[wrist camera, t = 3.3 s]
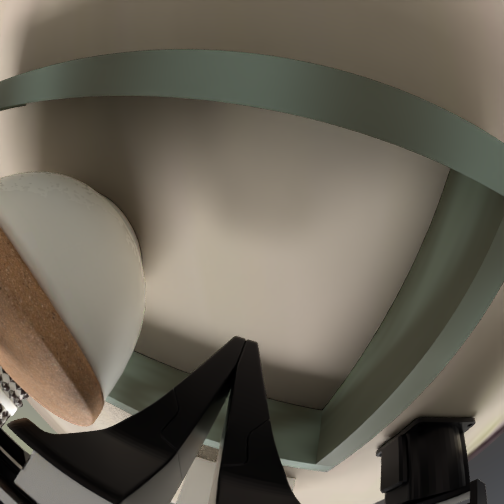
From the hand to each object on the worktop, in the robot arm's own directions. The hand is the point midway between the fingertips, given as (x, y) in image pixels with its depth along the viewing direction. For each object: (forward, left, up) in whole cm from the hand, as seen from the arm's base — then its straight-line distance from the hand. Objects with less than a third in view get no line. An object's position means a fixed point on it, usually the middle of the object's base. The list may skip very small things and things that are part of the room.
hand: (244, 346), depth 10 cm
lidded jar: (+9, 0, -3) cm, 10 cm away
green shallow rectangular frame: (+5, 0, -3) cm, 6 cm away
